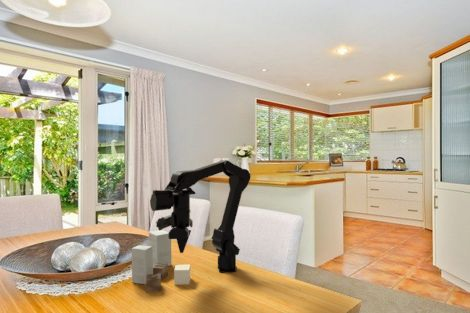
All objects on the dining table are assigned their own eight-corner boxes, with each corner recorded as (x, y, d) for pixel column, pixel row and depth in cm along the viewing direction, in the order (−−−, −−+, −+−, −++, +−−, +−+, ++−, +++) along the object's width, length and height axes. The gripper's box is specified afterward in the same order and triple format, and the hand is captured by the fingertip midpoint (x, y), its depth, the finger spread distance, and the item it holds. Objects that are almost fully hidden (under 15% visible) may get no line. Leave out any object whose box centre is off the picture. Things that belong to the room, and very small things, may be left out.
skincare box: (153, 280, 106) (153, 246, 106) (146, 285, 102) (145, 249, 102) (139, 277, 108) (138, 244, 108) (131, 282, 104) (131, 248, 104)
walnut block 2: (160, 285, 102) (160, 272, 102) (160, 290, 98) (160, 278, 98) (147, 286, 101) (146, 274, 101) (146, 292, 97) (146, 279, 97)
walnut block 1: (167, 274, 111) (167, 263, 111) (162, 279, 107) (162, 267, 107) (156, 273, 112) (156, 262, 112) (150, 278, 108) (150, 267, 108)
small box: (171, 265, 120) (171, 232, 120) (156, 269, 116) (156, 235, 116) (162, 260, 127) (162, 229, 127) (148, 263, 123) (148, 231, 123)
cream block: (190, 278, 108) (190, 264, 108) (189, 284, 103) (188, 269, 103) (176, 278, 107) (176, 264, 107) (174, 284, 102) (174, 270, 102)
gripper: (162, 203, 114) (163, 245, 114) (152, 213, 95) (152, 262, 95) (192, 203, 114) (192, 244, 114) (187, 212, 96) (187, 261, 96)
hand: (181, 252), depth 105 cm, fingers closed
